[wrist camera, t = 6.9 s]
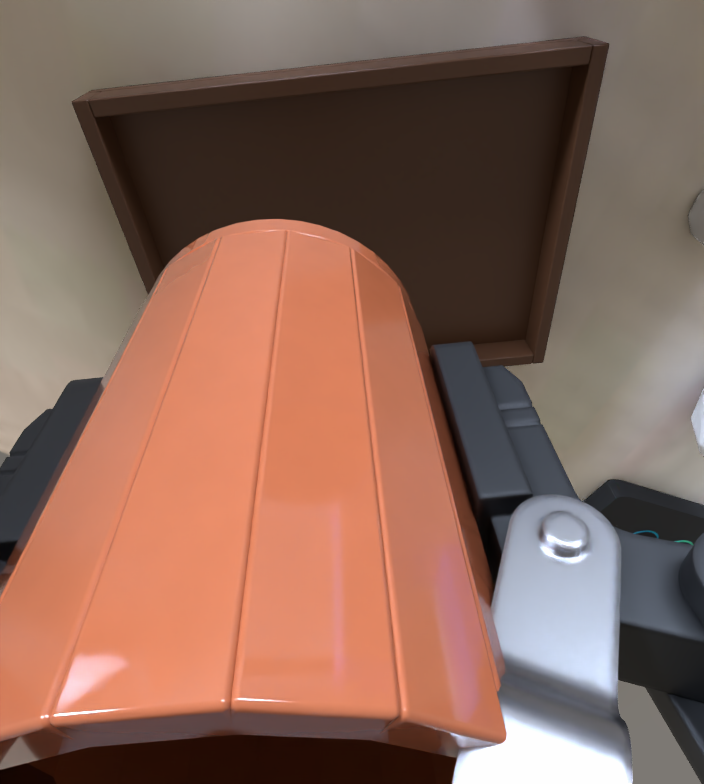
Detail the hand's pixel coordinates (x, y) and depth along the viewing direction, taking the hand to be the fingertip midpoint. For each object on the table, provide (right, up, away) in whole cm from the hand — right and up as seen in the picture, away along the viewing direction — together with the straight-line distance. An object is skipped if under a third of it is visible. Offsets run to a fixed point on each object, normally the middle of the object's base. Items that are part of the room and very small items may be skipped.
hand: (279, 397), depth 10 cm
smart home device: (+28, -12, +33) cm, 44 cm away
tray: (+1, +7, +14) cm, 16 cm away
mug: (0, 0, +2) cm, 2 cm away
